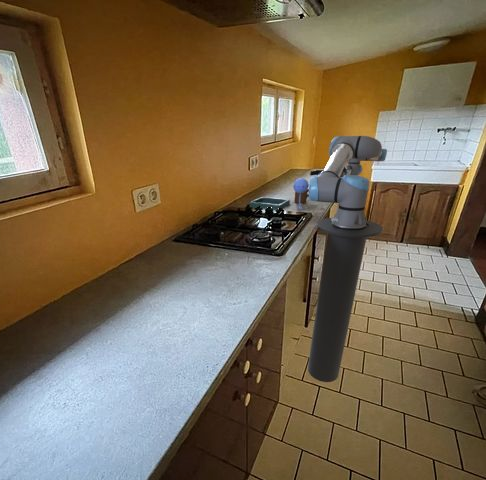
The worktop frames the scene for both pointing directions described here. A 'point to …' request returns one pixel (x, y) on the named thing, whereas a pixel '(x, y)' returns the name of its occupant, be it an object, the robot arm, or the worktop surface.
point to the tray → (269, 203)
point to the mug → (303, 197)
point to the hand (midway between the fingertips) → (318, 174)
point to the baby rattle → (300, 188)
